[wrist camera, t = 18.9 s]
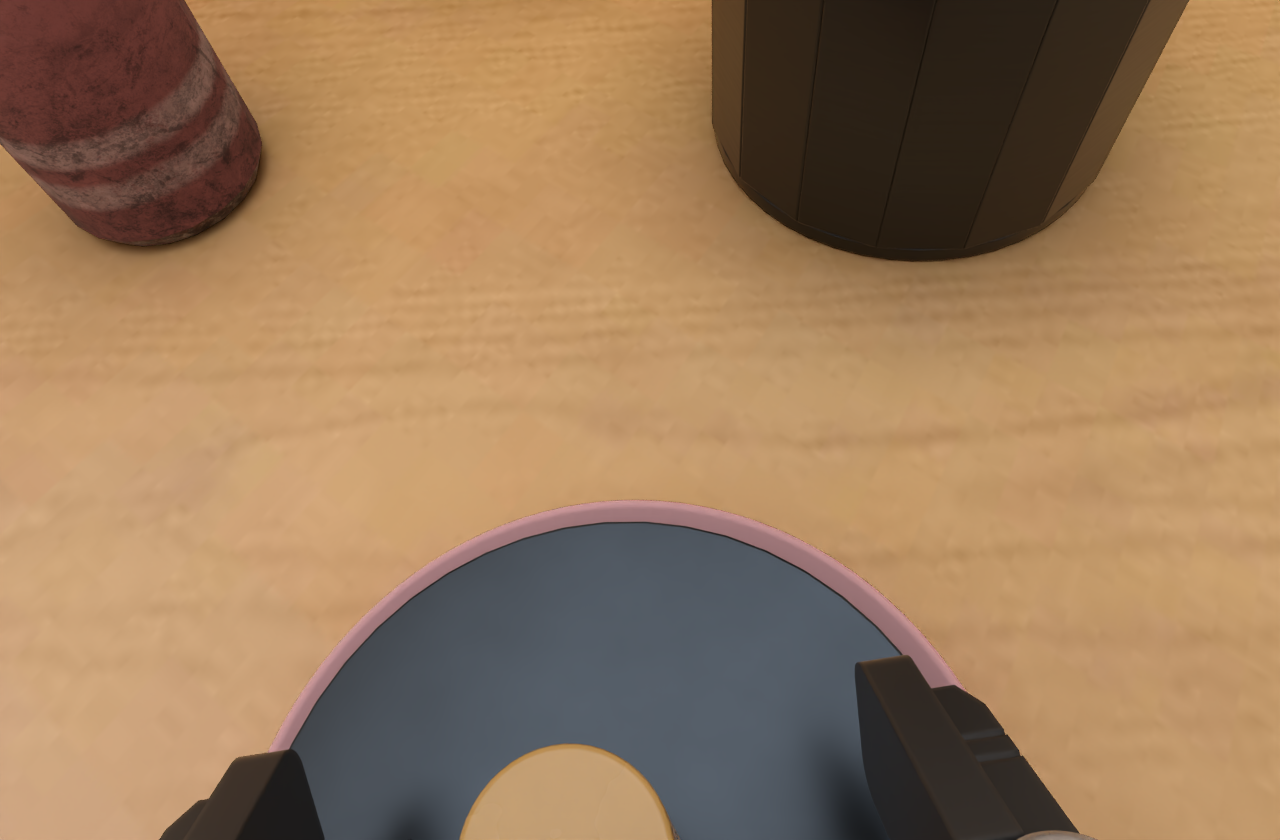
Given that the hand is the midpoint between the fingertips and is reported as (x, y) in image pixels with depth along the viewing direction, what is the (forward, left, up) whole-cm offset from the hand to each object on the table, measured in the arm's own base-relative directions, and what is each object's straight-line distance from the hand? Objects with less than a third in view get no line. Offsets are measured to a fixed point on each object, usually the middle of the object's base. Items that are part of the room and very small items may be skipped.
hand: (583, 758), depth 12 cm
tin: (-14, -16, -6) cm, 22 cm away
